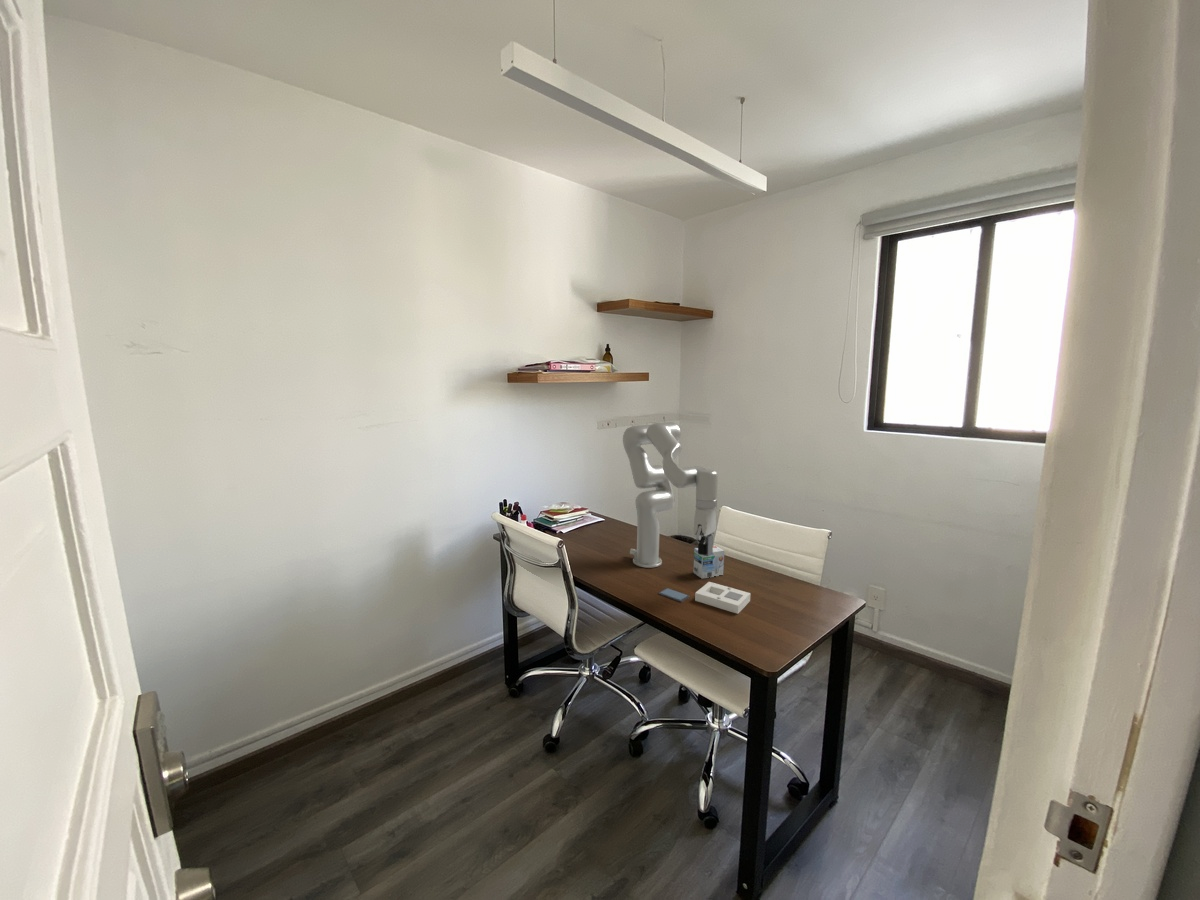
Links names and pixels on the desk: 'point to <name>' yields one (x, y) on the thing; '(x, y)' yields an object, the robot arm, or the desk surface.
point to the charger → (708, 544)
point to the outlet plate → (723, 597)
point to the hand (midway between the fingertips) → (705, 551)
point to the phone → (674, 595)
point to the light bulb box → (709, 563)
